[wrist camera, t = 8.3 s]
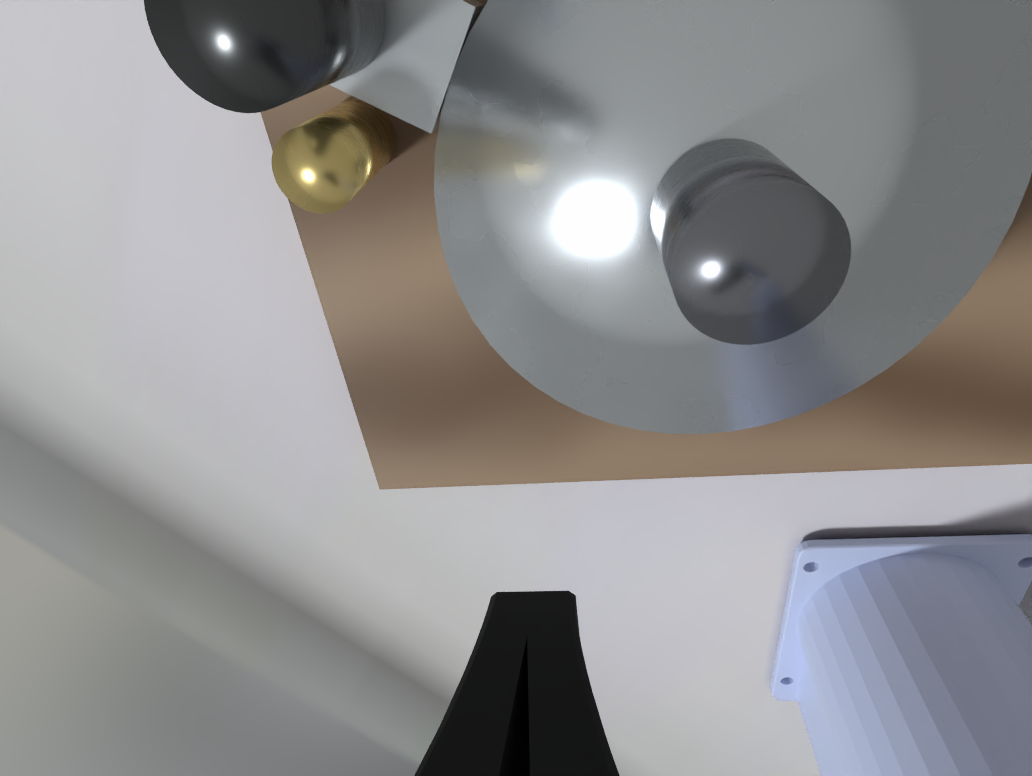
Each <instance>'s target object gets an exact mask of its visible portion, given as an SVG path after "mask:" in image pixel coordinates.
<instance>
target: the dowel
mask: <svg viewBox="0 0 1032 776" xmlns="http://www.w3.org/2000/svg"><path fill="white" fill-rule="evenodd" d="M395 146H396V136H395V131H394V127H393V125H392V122H391V121H390V119H389V117H388V116H387V114H386V113H385V112H384V111H383V110H381V109H379V108H377V107H375V106H372V105H370V104H368V103H366V102H364V101H362V100H360V99H350V100H346V101H344V102H342V103H340V104H338V105H336V106H334V107H333V108H331V109H329V110H327V111H325V112H323V113H321V114H319V115H317V116H315V117H314V118H312V119H310V120H308V121H306V122H304V123H302V124H300V125H298V126H296V127H295V128H293V129H291V130H289V131H287V132H286V133H284V134H283V135H282V136H281V137H280V138H279V140H278V141H277V143H276V145H275V147H274V150H273V154H272V169H273V173H274V177H275V179H276V182H277V184H278V186H279V188H280V189H281V191H282V192H283V193H284V194H285V196H286V197H287V198H288V199H289V200H290V201H291V202H293V203H294V204H295V205H297V206H298V207H300V208H302V209H304V210H306V211H309V212H313V213H319V214H327V213H332V212H335V211H337V210H339V209H341V208H342V207H344V206H345V205H346V204H347V203H348V202H349V201H350V200H351V199H352V198H353V197H354V196H355V195H356V194H357V193H358V192H359V191H360V190H361V189H362V188H363V187H364V186H365V185H366V184H367V183H368V182H369V181H370V180H371V179H372V178H373V177H374V176H375V175H376V174H377V173H378V172H379V171H380V170H381V169H382V168H383V167H384V166H385V165H386V164H387V163H388V162H389V161H390V160H391V158H392V156H393V154H394V151H395Z"/></svg>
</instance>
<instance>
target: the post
mask: <svg viewBox="0 0 1032 776" xmlns="http://www.w3.org/2000/svg"><path fill="white" fill-rule="evenodd" d="M651 226H652V231H653V235H654V237H655V240H656V243H657V246H658V249H659V252H660V255H661V258H662V261H663V264H664V267H665V270H666V273H667V276H668V279H669V282H670V285H671V288H672V291H673V294H674V296H675V299H676V302H677V305H678V307H679V309H680V310H681V312H682V314H683V315H684V317H685V318H686V319H687V321H688V322H689V323H690V324H691V325H692V326H693V327H694V328H696V329H697V330H699V331H700V332H701V333H703V334H705V335H707V336H708V337H710V338H713V339H715V340H718V341H721V342H725V343H730V344H738V345H753V344H762V343H766V342H771V341H775V340H778V339H781V338H784V337H786V336H788V335H790V334H793V333H795V332H796V331H798V330H800V329H802V328H803V327H805V326H806V325H808V324H809V323H811V322H812V321H813V320H815V319H816V318H817V317H818V316H819V315H820V314H821V313H822V312H823V311H824V310H825V309H826V308H827V307H828V306H829V305H830V304H831V302H832V301H833V300H834V298H835V297H836V295H837V294H838V292H839V290H840V289H841V287H842V285H843V283H844V280H845V278H846V275H847V273H848V269H849V265H850V259H851V239H850V234H849V230H848V227H847V225H846V222H845V220H844V218H843V217H842V215H841V213H840V212H839V210H838V209H837V208H836V207H835V206H834V204H832V203H831V202H830V201H829V200H828V199H827V198H825V197H824V196H823V195H822V194H821V193H819V192H818V191H817V190H816V189H815V188H813V187H812V186H811V185H810V184H809V183H807V182H806V181H805V180H804V179H803V178H801V177H800V176H799V175H798V174H797V173H795V172H794V171H793V170H792V169H791V168H789V167H788V166H787V165H786V164H785V163H783V162H782V161H781V160H780V159H779V158H777V157H776V156H775V155H774V154H773V153H771V152H770V151H769V150H768V149H766V148H765V147H763V146H761V145H759V144H757V143H754V142H752V141H748V140H744V139H735V138H731V139H720V140H714V141H711V142H707V143H704V144H702V145H700V146H698V147H695V148H694V149H692V150H690V151H689V152H687V153H686V154H684V155H683V156H682V157H680V158H679V159H678V160H677V161H676V162H675V163H674V164H673V165H672V166H671V167H670V168H669V169H668V171H667V172H666V173H665V175H664V176H663V178H662V179H661V181H660V183H659V185H658V187H657V189H656V192H655V194H654V197H653V201H652V206H651Z"/></svg>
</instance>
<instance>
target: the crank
mask: <svg viewBox="0 0 1032 776" xmlns="http://www.w3.org/2000/svg"><path fill="white" fill-rule="evenodd" d="M144 5H145V11H146V16H147V20H148V24H149V27H150V30H151V33H152V35H153V38H154V40H155V42H156V45H157V46H158V48H159V50H160V52H161V54H162V56H163V57H164V59H165V60H166V62H167V63H168V65H169V66H170V68H171V69H172V70H173V71H174V72H175V74H176V75H177V76H178V77H179V78H180V79H181V80H182V81H183V82H184V83H185V84H186V85H187V86H188V87H189V88H190V89H191V90H193V91H194V92H195V93H196V94H198V95H199V96H201V97H202V98H204V99H205V100H207V101H209V102H211V103H212V104H214V105H216V106H219V107H221V108H224V109H227V110H231V111H235V112H242V113H257V112H262V111H267V110H269V109H272V108H275V107H277V106H280V105H282V104H284V103H287V102H289V101H292V100H294V99H296V98H299V97H301V96H303V95H306V94H308V93H310V92H313V91H315V90H317V89H320V88H322V87H325V86H327V85H331V86H333V87H335V88H337V89H339V90H341V91H343V92H345V93H348V94H350V95H352V96H354V97H356V98H358V99H360V100H362V101H364V102H366V103H368V104H370V105H372V106H375V107H377V108H379V109H381V110H383V111H385V112H387V113H389V114H391V115H393V116H395V117H397V118H400V119H402V120H404V121H406V122H408V123H410V124H412V125H414V126H416V127H418V128H420V129H422V130H424V131H427V132H429V133H432V132H433V131H434V130H435V129H436V128H437V127H438V126H439V129H438V136H437V143H436V149H435V164H434V198H435V207H436V217H437V226H438V232H439V236H440V240H441V244H442V248H443V252H444V256H445V261H446V264H447V266H448V269H449V272H450V274H451V277H452V279H453V282H454V285H455V287H456V290H457V292H458V294H459V296H460V298H461V300H462V302H463V304H464V305H465V307H466V309H467V311H468V313H469V315H470V317H471V318H472V320H473V322H474V323H475V324H476V326H477V327H478V329H479V330H480V331H481V333H482V334H483V335H484V337H485V338H486V340H487V341H488V342H489V344H490V345H491V346H492V347H493V348H494V349H495V351H496V352H497V353H498V354H499V355H500V356H501V357H502V358H503V359H504V360H505V361H506V362H507V363H508V364H509V365H510V367H512V368H513V369H514V370H515V371H516V372H518V373H519V374H520V375H521V376H522V377H524V378H525V379H526V380H527V381H528V382H530V383H531V384H532V385H533V386H535V387H536V388H538V389H539V390H541V391H542V392H544V393H546V394H547V395H549V396H550V397H552V398H553V399H555V400H556V401H558V402H560V403H562V404H564V405H566V406H568V407H570V408H573V409H575V410H577V411H579V412H581V413H583V414H585V415H588V416H591V417H594V418H597V419H599V420H602V421H605V422H608V423H611V424H615V425H619V426H624V427H628V428H632V429H637V430H642V431H650V432H659V433H667V434H709V433H720V432H731V431H737V430H742V429H747V428H753V427H758V426H763V425H767V424H770V423H773V422H777V421H780V420H784V419H787V418H791V417H794V416H797V415H799V414H802V413H804V412H807V411H809V410H812V409H814V408H817V407H820V406H822V405H825V404H827V403H829V402H831V401H833V400H835V399H837V398H839V397H841V396H842V395H844V394H846V393H848V392H850V391H852V390H854V389H856V388H858V387H859V386H861V385H863V384H864V383H866V382H867V381H869V380H871V379H872V378H874V377H875V376H877V375H878V374H880V373H882V372H883V371H885V370H886V369H888V368H889V367H890V366H892V365H893V364H894V363H895V362H897V361H898V360H899V359H901V358H902V357H903V356H905V355H906V354H907V353H908V352H910V351H911V350H912V349H914V348H915V347H916V346H917V345H918V344H919V343H920V342H921V341H922V340H924V339H925V338H926V337H927V336H928V335H929V334H930V333H931V332H932V331H933V330H934V329H935V328H936V327H937V326H938V325H940V324H941V323H942V322H943V321H944V320H945V318H946V317H947V316H948V315H949V314H950V313H951V312H952V310H953V309H954V308H955V307H956V306H957V305H958V304H959V302H960V301H961V300H962V299H963V298H964V297H965V296H966V294H967V293H968V292H969V291H970V290H971V288H972V287H973V285H974V284H975V282H976V281H977V280H978V278H979V277H980V275H981V274H982V273H983V271H984V270H985V268H986V267H987V265H988V264H989V263H990V261H991V260H992V258H993V257H994V255H995V253H996V251H997V249H998V248H999V246H1000V244H1001V242H1002V240H1003V239H1004V237H1005V235H1006V233H1007V231H1008V230H1009V228H1010V226H1011V224H1012V222H1013V220H1014V218H1015V215H1016V213H1017V210H1018V208H1019V206H1020V203H1021V201H1022V198H1023V196H1024V193H1025V191H1026V189H1027V186H1028V184H1029V180H1030V177H1031V173H1032V0H488V1H487V3H486V5H485V7H484V4H482V3H480V2H478V1H477V0H144ZM731 138H735V139H744V140H748V141H752V142H754V143H757V144H759V145H761V146H763V147H765V148H766V149H768V150H769V151H770V152H771V153H773V154H774V155H775V156H776V157H777V158H779V159H780V160H781V161H782V162H783V163H785V164H786V165H787V166H788V167H789V168H791V169H792V170H793V171H794V172H795V173H797V174H798V175H799V176H800V177H801V178H803V179H804V180H805V181H806V182H807V183H809V184H810V185H811V186H812V187H813V188H815V189H816V190H817V191H818V192H819V193H821V194H822V195H823V196H824V197H825V198H827V199H828V200H829V201H830V202H831V203H832V204H834V206H835V207H836V208H837V209H838V210H839V212H840V213H841V215H842V217H843V218H844V220H845V222H846V225H847V227H848V230H849V234H850V239H851V259H850V265H849V269H848V273H847V275H846V278H845V280H844V283H843V285H842V287H841V289H840V290H839V292H838V294H837V295H836V297H835V298H834V300H833V301H832V302H831V304H830V305H829V306H828V307H827V308H826V309H825V310H824V311H823V312H822V313H821V314H820V315H819V316H818V317H817V318H816V319H815V320H813V321H812V322H811V323H809V324H808V325H806V326H805V327H803V328H802V329H800V330H798V331H796V332H795V333H793V334H790V335H788V336H786V337H784V338H781V339H778V340H775V341H771V342H766V343H762V344H753V345H738V344H730V343H725V342H721V341H718V340H715V339H713V338H710V337H708V336H707V335H705V334H703V333H701V332H700V331H699V330H697V329H696V328H694V327H693V326H692V325H691V324H690V323H689V322H688V321H687V319H686V318H685V317H684V315H683V314H682V312H681V310H680V309H679V307H678V305H677V302H676V299H675V296H674V294H673V291H672V288H671V285H670V282H669V279H668V276H667V273H666V270H665V267H664V264H663V261H662V258H661V255H660V252H659V249H658V246H657V243H656V240H655V237H654V235H653V231H652V226H651V206H652V201H653V197H654V194H655V192H656V189H657V187H658V185H659V183H660V181H661V179H662V178H663V176H664V175H665V173H666V172H667V171H668V169H669V168H670V167H671V166H672V165H673V164H674V163H675V162H676V161H677V160H678V159H679V158H680V157H682V156H683V155H684V154H686V153H687V152H689V151H690V150H692V149H694V148H695V147H698V146H700V145H702V144H704V143H707V142H711V141H714V140H720V139H731Z"/></svg>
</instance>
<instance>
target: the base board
mask: <svg viewBox="0 0 1032 776" xmlns="http://www.w3.org/2000/svg"><path fill="white" fill-rule="evenodd" d="M477 1H478V2H480V3H482V4H484V7H485V5H486V3H487V1H488V0H477ZM350 99H358V98H356V97H354V96H352V95H350V94H348V93H345V92H343V91H341V90H339V89H337V88H335V87H333V86H331V85H327V86H325V87H322V88H320V89H317V90H315V91H313V92H310V93H308V94H306V95H303V96H301V97H299V98H296V99H294V100H292V101H289V102H287V103H284V104H282V105H280V106H277V107H275V108H272V109H269V110H267V111H262V112H261V115H262V118H263V121H264V124H265V128H266V131H267V134H268V137H269V140H270V143H271V147H272V150H274V147H275V145H276V143H277V141H278V140H279V138H280V137H281V136H282V135H283V134H284V133H286V132H287V131H289V130H291V129H293V128H295V127H296V126H298V125H300V124H302V123H304V122H306V121H308V120H310V119H312V118H314V117H315V116H317V115H319V114H321V113H323V112H325V111H327V110H329V109H331V108H333V107H334V106H336V105H338V104H340V103H342V102H344V101H346V100H350ZM384 112H385V111H384ZM385 113H386V114H387V116H388V117H389V119H390V121H391V122H392V125H393V127H394V131H395V136H396V146H395V151H394V154H393V156H392V158H391V160H390V161H389V162H388V163H387V164H386V165H385V166H384V167H383V168H382V169H381V170H380V171H379V172H378V173H377V174H376V175H375V176H374V177H373V178H372V179H371V180H370V181H369V182H368V183H367V184H366V185H365V186H364V187H363V188H362V189H361V190H360V191H359V192H358V193H357V194H356V195H355V196H354V197H353V198H352V199H351V200H350V201H349V202H348V203H347V204H346V205H345V206H344V207H342V208H341V209H339V210H337V211H335V212H332V213H327V214H319V213H313V212H309V211H306V210H304V209H302V208H300V207H298V206H297V205H295V204H294V203H293V202H291V201H290V200H289V199H288V200H289V203H290V207H291V210H292V213H293V216H294V219H295V222H296V226H297V229H298V232H299V235H300V238H301V241H302V245H303V248H304V251H305V254H306V257H307V260H308V264H309V267H310V270H311V273H312V276H313V279H314V283H315V286H316V289H317V292H318V295H319V298H320V302H321V305H322V308H323V311H324V314H325V317H326V321H327V324H328V327H329V330H330V333H331V336H332V340H333V343H334V346H335V349H336V352H337V355H338V359H339V362H340V365H341V368H342V371H343V374H344V378H345V381H346V384H347V387H348V390H349V393H350V397H351V400H352V403H353V406H354V409H355V412H356V415H357V419H358V422H359V425H360V428H361V431H362V434H363V438H364V441H365V444H366V447H367V450H368V453H369V457H370V460H371V463H372V466H373V469H374V472H375V476H376V479H377V482H378V485H379V488H380V489H402V488H427V487H453V486H478V485H503V484H528V483H554V482H579V481H604V480H629V479H655V478H680V477H705V476H730V475H756V474H781V473H806V472H831V471H857V470H882V469H907V468H932V467H958V466H983V465H1008V464H1032V173H1031V177H1030V180H1029V184H1028V186H1027V189H1026V191H1025V193H1024V196H1023V198H1022V201H1021V203H1020V206H1019V208H1018V210H1017V213H1016V215H1015V218H1014V220H1013V222H1012V224H1011V226H1010V228H1009V230H1008V231H1007V233H1006V235H1005V237H1004V239H1003V240H1002V242H1001V244H1000V246H999V248H998V249H997V251H996V253H995V255H994V257H993V258H992V260H991V261H990V263H989V264H988V265H987V267H986V268H985V270H984V271H983V273H982V274H981V275H980V277H979V278H978V280H977V281H976V282H975V284H974V285H973V287H972V288H971V290H970V291H969V292H968V293H967V294H966V296H965V297H964V298H963V299H962V300H961V301H960V302H959V304H958V305H957V306H956V307H955V308H954V309H953V310H952V312H951V313H950V314H949V315H948V316H947V317H946V318H945V320H944V321H943V322H942V323H941V324H940V325H938V326H937V327H936V328H935V329H934V330H933V331H932V332H931V333H930V334H929V335H928V336H927V337H926V338H925V339H924V340H922V341H921V342H920V343H919V344H918V345H917V346H916V347H915V348H914V349H912V350H911V351H910V352H908V353H907V354H906V355H905V356H903V357H902V358H901V359H899V360H898V361H897V362H895V363H894V364H893V365H892V366H890V367H889V368H888V369H886V370H885V371H883V372H882V373H880V374H878V375H877V376H875V377H874V378H872V379H871V380H869V381H867V382H866V383H864V384H863V385H861V386H859V387H858V388H856V389H854V390H852V391H850V392H848V393H846V394H844V395H842V396H841V397H839V398H837V399H835V400H833V401H831V402H829V403H827V404H825V405H822V406H820V407H817V408H814V409H812V410H809V411H807V412H804V413H802V414H799V415H797V416H794V417H791V418H787V419H784V420H780V421H777V422H773V423H770V424H767V425H763V426H758V427H753V428H747V429H742V430H737V431H731V432H720V433H709V434H667V433H659V432H650V431H642V430H637V429H632V428H628V427H624V426H619V425H615V424H611V423H608V422H605V421H602V420H599V419H597V418H594V417H591V416H588V415H585V414H583V413H581V412H579V411H577V410H575V409H573V408H570V407H568V406H566V405H564V404H562V403H560V402H558V401H556V400H555V399H553V398H552V397H550V396H549V395H547V394H546V393H544V392H542V391H541V390H539V389H538V388H536V387H535V386H533V385H532V384H531V383H530V382H528V381H527V380H526V379H525V378H524V377H522V376H521V375H520V374H519V373H518V372H516V371H515V370H514V369H513V368H512V367H510V365H509V364H508V363H507V362H506V361H505V360H504V359H503V358H502V357H501V356H500V355H499V354H498V353H497V352H496V351H495V349H494V348H493V347H492V346H491V345H490V344H489V342H488V341H487V340H486V338H485V337H484V335H483V334H482V333H481V331H480V330H479V329H478V327H477V326H476V324H475V323H474V322H473V320H472V318H471V317H470V315H469V313H468V311H467V309H466V307H465V305H464V304H463V302H462V300H461V298H460V296H459V294H458V292H457V290H456V287H455V285H454V282H453V279H452V277H451V274H450V272H449V269H448V266H447V264H446V261H445V256H444V252H443V248H442V244H441V240H440V236H439V232H438V226H437V217H436V207H435V198H434V164H435V149H436V143H437V136H438V129H439V126H438V127H437V128H436V129H435V130H434V131H433V132H432V133H429V132H427V131H424V130H422V129H420V128H418V127H416V126H414V125H412V124H410V123H408V122H406V121H404V120H402V119H400V118H397V117H395V116H393V115H391V114H389V113H387V112H385Z"/></svg>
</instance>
